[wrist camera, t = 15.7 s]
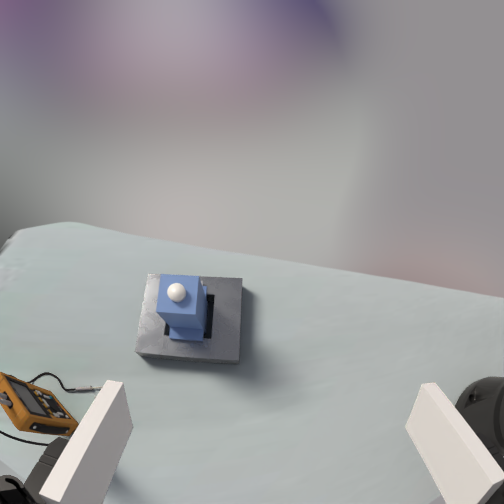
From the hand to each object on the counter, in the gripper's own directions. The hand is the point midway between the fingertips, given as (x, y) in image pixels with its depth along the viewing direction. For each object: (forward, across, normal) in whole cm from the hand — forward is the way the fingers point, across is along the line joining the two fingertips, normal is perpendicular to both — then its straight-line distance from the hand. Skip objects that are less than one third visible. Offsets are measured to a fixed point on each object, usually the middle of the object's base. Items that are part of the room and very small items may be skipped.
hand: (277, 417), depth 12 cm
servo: (+31, -9, -10) cm, 34 cm away
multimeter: (+22, -26, -21) cm, 40 cm away
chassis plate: (+31, -9, -11) cm, 34 cm away
